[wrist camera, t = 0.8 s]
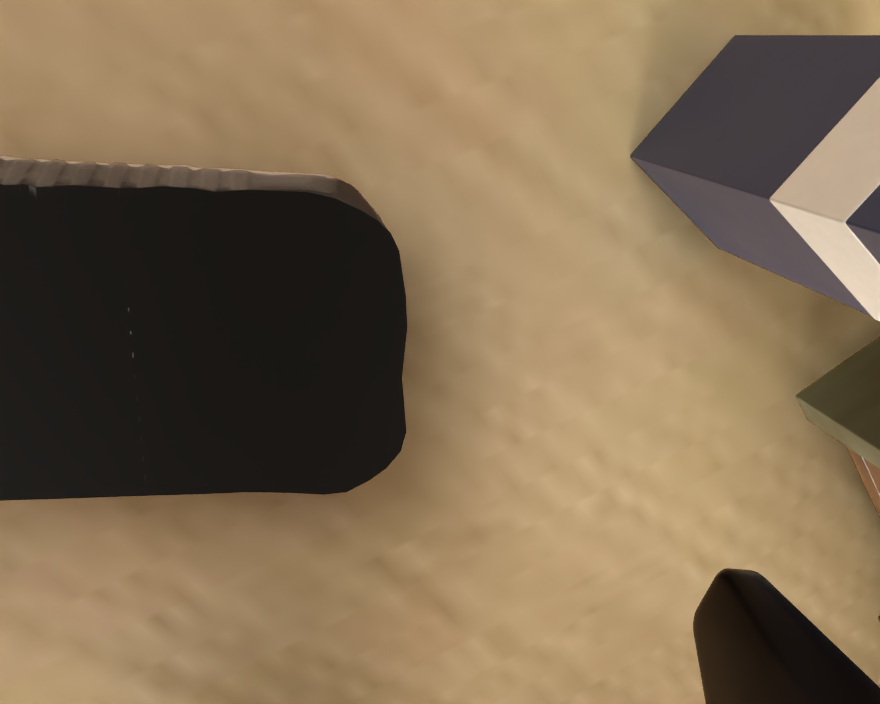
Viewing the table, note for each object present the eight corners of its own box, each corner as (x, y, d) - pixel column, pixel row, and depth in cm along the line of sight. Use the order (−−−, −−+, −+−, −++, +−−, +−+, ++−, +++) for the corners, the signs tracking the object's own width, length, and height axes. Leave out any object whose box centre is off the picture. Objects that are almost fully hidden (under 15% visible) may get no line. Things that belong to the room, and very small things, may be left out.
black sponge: (389, 167, 22) (416, 190, 19) (370, 446, 25) (390, 510, 22) (-334, 120, 18) (-464, 139, 15) (-257, 458, 21) (-352, 538, 18)
